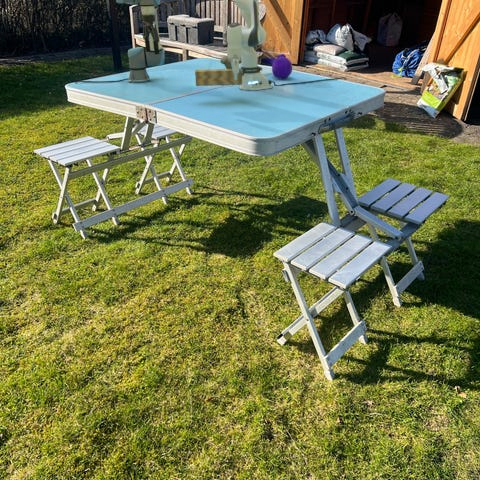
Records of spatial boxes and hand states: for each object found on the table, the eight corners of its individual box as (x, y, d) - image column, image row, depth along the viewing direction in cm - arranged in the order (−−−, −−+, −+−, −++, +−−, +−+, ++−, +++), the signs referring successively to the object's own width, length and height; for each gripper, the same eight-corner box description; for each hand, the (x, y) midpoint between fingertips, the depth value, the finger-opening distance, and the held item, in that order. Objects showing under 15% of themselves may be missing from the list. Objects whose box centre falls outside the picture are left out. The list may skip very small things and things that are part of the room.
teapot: (224, 71, 366) (223, 51, 359) (217, 69, 375) (216, 50, 367) (246, 68, 375) (246, 49, 368) (239, 67, 384) (239, 48, 376)
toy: (277, 73, 354) (291, 83, 334) (257, 69, 347) (271, 79, 326) (283, 52, 346) (298, 62, 326) (263, 47, 339) (277, 57, 318)
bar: (196, 86, 267) (195, 71, 263) (196, 84, 272) (195, 69, 268) (242, 84, 268) (242, 70, 264) (241, 82, 273) (241, 68, 269)
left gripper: (162, 15, 258) (166, 54, 268) (146, 13, 276) (150, 50, 287) (150, 15, 254) (154, 55, 265) (134, 13, 273) (139, 51, 283)
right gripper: (241, 56, 253) (241, 82, 260) (239, 51, 271) (239, 75, 278) (230, 56, 253) (230, 82, 260) (228, 51, 270) (229, 75, 277)
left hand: (152, 53), depth 276 cm, fingers open, 13 cm apart
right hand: (235, 78), depth 269 cm, fingers closed on bar, 6 cm apart
